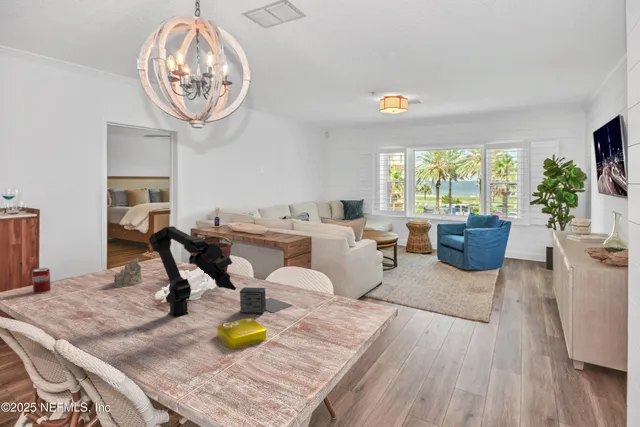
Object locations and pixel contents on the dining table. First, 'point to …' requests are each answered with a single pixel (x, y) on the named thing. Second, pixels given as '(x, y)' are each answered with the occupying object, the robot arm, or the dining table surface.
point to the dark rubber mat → (275, 305)
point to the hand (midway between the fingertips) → (233, 286)
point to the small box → (252, 300)
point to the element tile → (241, 333)
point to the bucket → (222, 247)
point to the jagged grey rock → (129, 275)
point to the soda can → (41, 280)
